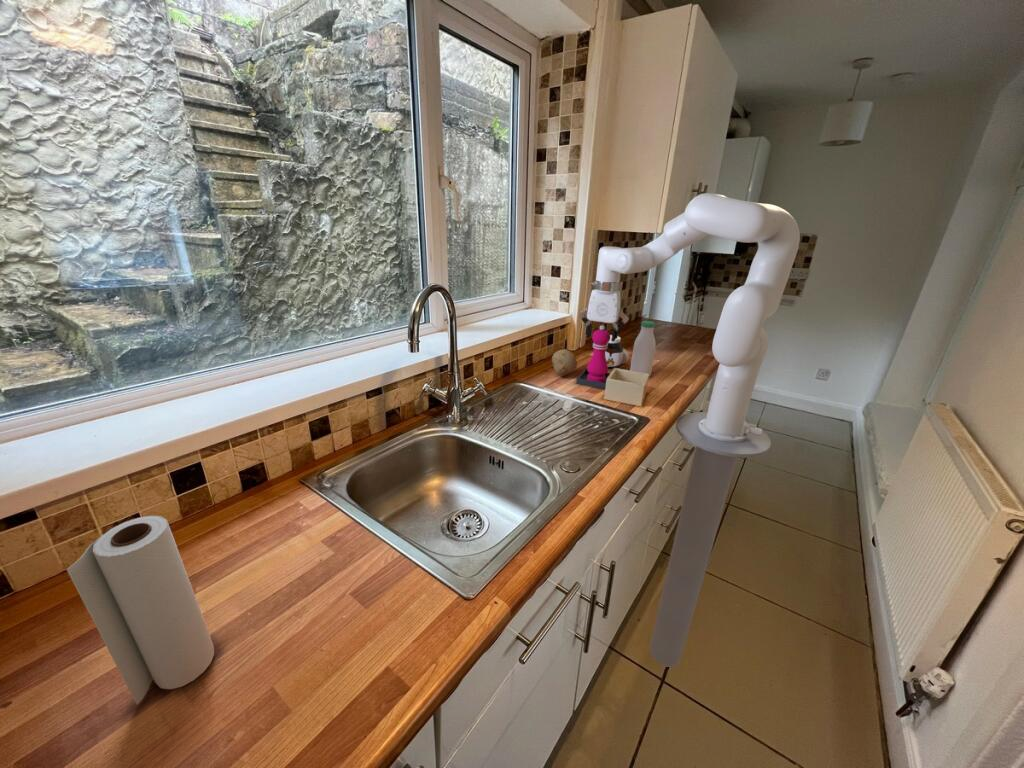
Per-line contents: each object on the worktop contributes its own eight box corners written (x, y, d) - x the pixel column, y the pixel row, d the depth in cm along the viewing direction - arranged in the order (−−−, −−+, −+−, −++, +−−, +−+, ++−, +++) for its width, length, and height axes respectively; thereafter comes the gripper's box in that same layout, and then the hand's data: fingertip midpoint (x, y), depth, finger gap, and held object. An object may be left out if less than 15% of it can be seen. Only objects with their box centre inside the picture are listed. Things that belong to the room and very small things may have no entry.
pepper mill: (600, 385, 140) (607, 329, 132) (582, 380, 144) (587, 325, 136) (609, 379, 145) (617, 325, 138) (591, 374, 149) (597, 321, 142)
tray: (614, 379, 147) (615, 374, 147) (607, 389, 138) (608, 384, 137) (585, 373, 152) (585, 368, 151) (576, 383, 142) (576, 378, 141)
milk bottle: (652, 378, 149) (661, 325, 141) (630, 376, 150) (638, 323, 142) (649, 371, 156) (658, 320, 148) (628, 369, 157) (636, 318, 149)
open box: (646, 393, 136) (649, 373, 133) (640, 406, 126) (644, 385, 124) (611, 386, 141) (614, 367, 138) (603, 399, 131) (606, 378, 128)
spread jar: (593, 366, 159) (596, 338, 154) (599, 358, 169) (602, 331, 164) (624, 371, 155) (628, 342, 150) (628, 362, 164) (632, 335, 160)
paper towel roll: (217, 634, 55) (172, 507, 47) (212, 676, 50) (160, 542, 42) (150, 659, 52) (88, 527, 44) (137, 706, 47) (65, 567, 39)
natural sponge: (574, 371, 153) (576, 346, 149) (577, 380, 145) (579, 354, 141) (550, 371, 153) (551, 345, 149) (551, 379, 145) (553, 353, 141)
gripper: (577, 285, 132) (573, 337, 139) (632, 290, 126) (624, 345, 132) (584, 282, 139) (579, 332, 145) (636, 287, 132) (628, 339, 139)
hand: (600, 338), depth 139 cm, fingers open, 8 cm apart
